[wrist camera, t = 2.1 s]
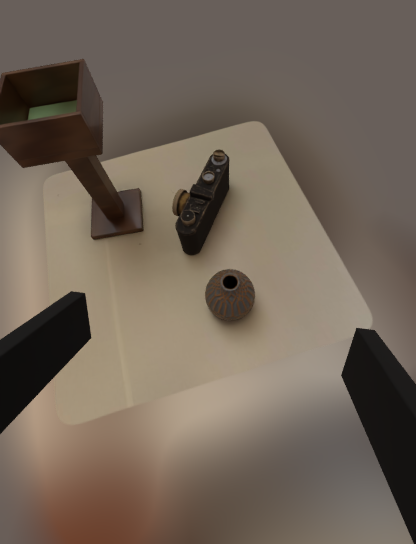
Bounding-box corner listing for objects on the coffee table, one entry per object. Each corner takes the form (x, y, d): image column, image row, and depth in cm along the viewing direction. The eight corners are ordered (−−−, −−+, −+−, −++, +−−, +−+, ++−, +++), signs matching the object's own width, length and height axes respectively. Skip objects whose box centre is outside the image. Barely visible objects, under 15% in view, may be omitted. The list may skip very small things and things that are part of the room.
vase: (220, 274, 42) (219, 248, 34) (260, 293, 40) (268, 271, 32) (198, 310, 40) (191, 292, 32) (239, 333, 38) (242, 319, 30)
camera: (201, 175, 50) (196, 140, 43) (233, 184, 49) (234, 149, 41) (164, 246, 45) (151, 219, 37) (200, 258, 43) (194, 233, 36)
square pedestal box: (92, 241, 46) (-14, 130, 26) (93, 198, 50) (1, 72, 30) (145, 232, 46) (80, 113, 26) (142, 190, 50) (83, 58, 30)
